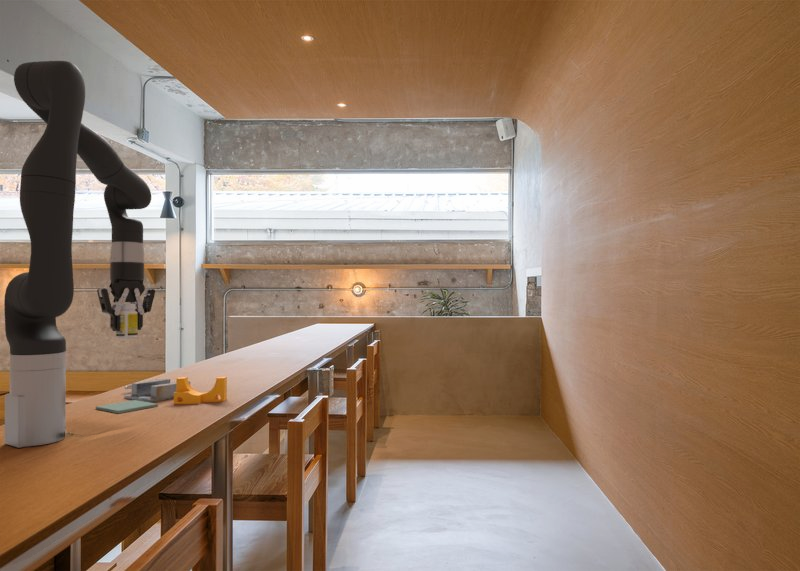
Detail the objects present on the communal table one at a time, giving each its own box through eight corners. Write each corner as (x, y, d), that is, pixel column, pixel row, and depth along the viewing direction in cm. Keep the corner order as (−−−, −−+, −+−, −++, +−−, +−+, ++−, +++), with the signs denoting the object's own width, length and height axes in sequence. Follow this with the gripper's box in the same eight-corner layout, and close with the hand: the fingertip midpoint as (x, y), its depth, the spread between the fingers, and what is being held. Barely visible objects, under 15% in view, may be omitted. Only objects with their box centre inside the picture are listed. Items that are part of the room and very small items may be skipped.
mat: (118, 413, 129) (118, 410, 129) (95, 409, 134) (95, 406, 134) (157, 406, 137) (157, 403, 137) (134, 402, 143) (134, 400, 143)
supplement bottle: (138, 336, 139) (138, 303, 139) (136, 338, 135) (137, 303, 135) (117, 337, 137) (117, 303, 138) (114, 338, 133) (115, 303, 133)
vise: (149, 403, 141) (149, 387, 141) (111, 397, 151) (111, 382, 151) (196, 395, 153) (196, 380, 153) (158, 389, 162) (158, 376, 163)
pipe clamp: (173, 405, 139) (173, 379, 139) (180, 402, 144) (180, 377, 144) (221, 404, 140) (221, 379, 140) (226, 401, 144) (226, 376, 144)
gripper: (106, 259, 129) (106, 332, 128) (162, 262, 140) (162, 329, 140) (89, 260, 133) (89, 331, 132) (145, 263, 145) (145, 328, 144)
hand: (126, 330), depth 136 cm, fingers closed on supplement bottle, 4 cm apart
